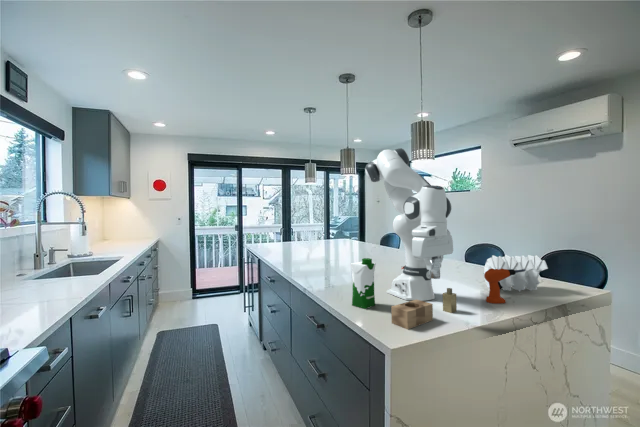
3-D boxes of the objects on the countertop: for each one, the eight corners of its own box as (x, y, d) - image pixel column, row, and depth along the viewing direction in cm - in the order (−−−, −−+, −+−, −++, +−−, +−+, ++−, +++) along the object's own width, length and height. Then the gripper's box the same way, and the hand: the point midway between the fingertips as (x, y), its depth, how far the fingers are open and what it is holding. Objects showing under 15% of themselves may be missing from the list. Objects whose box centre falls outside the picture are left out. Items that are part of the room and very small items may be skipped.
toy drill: (533, 299, 127) (528, 264, 127) (490, 306, 126) (486, 271, 126) (524, 295, 132) (520, 262, 132) (483, 302, 131) (479, 268, 131)
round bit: (427, 277, 107) (427, 252, 107) (433, 276, 109) (432, 251, 109) (436, 279, 104) (436, 253, 104) (442, 277, 106) (441, 252, 106)
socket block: (391, 323, 106) (391, 306, 106) (416, 315, 114) (416, 299, 114) (407, 329, 100) (407, 311, 100) (432, 320, 108) (432, 303, 108)
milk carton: (365, 310, 121) (365, 260, 120) (348, 305, 127) (347, 258, 127) (378, 305, 127) (377, 258, 127) (361, 300, 133) (360, 256, 133)
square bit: (442, 310, 118) (442, 288, 118) (448, 309, 120) (447, 286, 120) (451, 313, 115) (451, 290, 115) (456, 311, 118) (456, 288, 117)
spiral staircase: (483, 297, 150) (530, 293, 151) (502, 290, 134) (556, 285, 135) (472, 261, 158) (517, 258, 159) (489, 251, 142) (540, 247, 143)
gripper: (441, 228, 116) (442, 264, 116) (408, 231, 104) (409, 270, 104) (457, 229, 110) (457, 266, 111) (424, 232, 98) (424, 273, 99)
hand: (434, 268), depth 107 cm, fingers closed on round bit, 4 cm apart
